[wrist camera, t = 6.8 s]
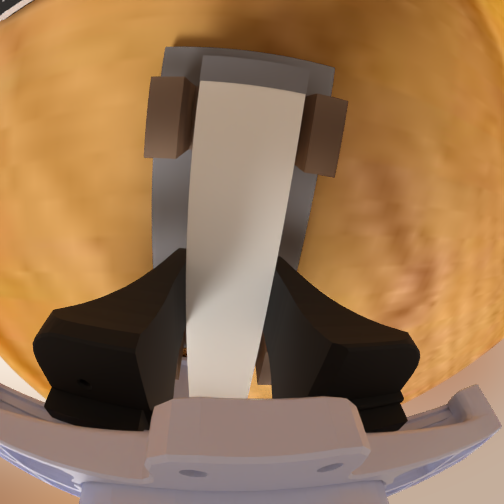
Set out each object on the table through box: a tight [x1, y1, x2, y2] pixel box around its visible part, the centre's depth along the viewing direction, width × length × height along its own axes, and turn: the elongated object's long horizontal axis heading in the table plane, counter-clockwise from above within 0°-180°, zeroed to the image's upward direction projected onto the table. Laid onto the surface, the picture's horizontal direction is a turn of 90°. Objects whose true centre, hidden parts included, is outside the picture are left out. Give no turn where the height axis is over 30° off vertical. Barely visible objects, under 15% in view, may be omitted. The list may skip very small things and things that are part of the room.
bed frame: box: [144, 47, 348, 385], centre depth 14 cm, size 20×9×6 cm, turn 172°
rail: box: [186, 55, 310, 399], centre depth 12 cm, size 16×3×4 cm, turn 172°
